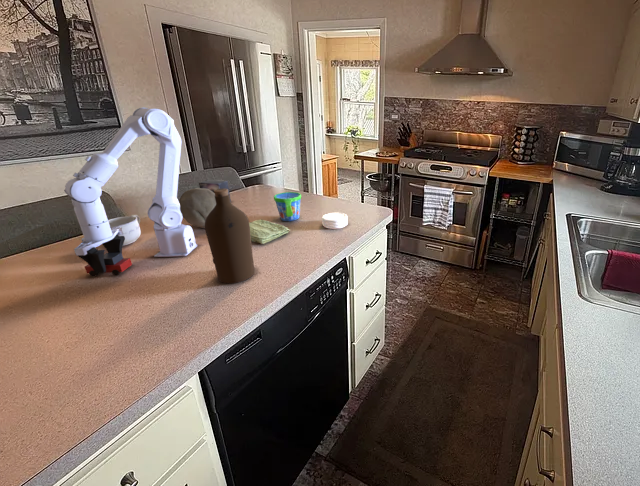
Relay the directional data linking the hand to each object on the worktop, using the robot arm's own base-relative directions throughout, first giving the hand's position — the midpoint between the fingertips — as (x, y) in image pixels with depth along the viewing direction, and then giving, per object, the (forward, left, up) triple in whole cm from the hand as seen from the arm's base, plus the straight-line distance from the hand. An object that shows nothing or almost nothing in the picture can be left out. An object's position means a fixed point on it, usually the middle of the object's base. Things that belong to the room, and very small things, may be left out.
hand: (109, 266), depth 92 cm
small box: (-4, -64, -2) cm, 64 cm away
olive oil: (-36, +5, -2) cm, 36 cm away
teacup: (+9, -22, -2) cm, 24 cm away
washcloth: (-35, -24, -2) cm, 42 cm away
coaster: (-61, -32, -2) cm, 69 cm away
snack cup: (-42, -40, -2) cm, 58 cm away
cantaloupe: (-11, -34, -2) cm, 36 cm away
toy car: (0, 0, -2) cm, 2 cm away
